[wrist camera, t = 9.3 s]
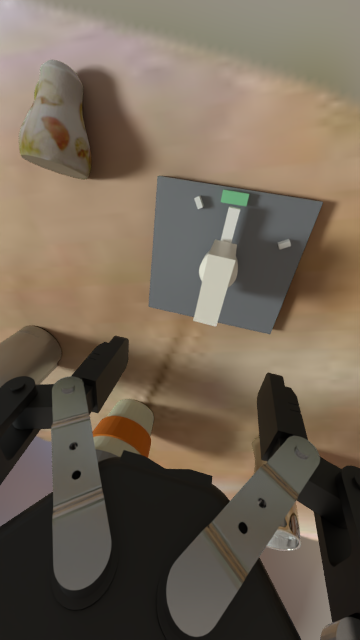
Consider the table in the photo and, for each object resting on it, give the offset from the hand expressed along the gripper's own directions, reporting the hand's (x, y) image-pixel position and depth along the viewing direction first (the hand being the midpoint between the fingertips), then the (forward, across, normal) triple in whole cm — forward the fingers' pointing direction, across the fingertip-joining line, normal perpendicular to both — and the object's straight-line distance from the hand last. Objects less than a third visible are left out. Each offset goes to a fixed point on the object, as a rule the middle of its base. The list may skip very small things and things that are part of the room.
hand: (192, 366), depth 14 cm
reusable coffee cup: (+22, +11, +36) cm, 44 cm away
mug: (+22, +20, -12) cm, 32 cm away
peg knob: (+20, 0, -2) cm, 20 cm away
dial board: (+22, 0, 0) cm, 22 cm away
